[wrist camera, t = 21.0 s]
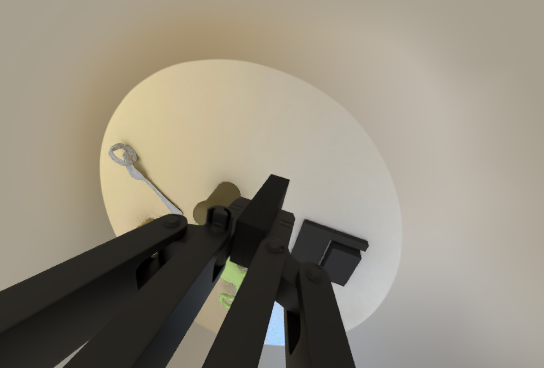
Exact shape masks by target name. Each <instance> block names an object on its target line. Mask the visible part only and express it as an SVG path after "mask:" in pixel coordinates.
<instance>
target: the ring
mask: <svg viewBox="0 0 544 368" xmlns="http://www.w3.org/2000/svg"><path fill="white" fill-rule="evenodd" d="M121 148H123V149H126V150H127V151H128V152H129V153H130V154H131V155H132V157H133V160H131V161H129V162H124V161H122V160H121V159H119V158H117V157H116V156H115V155H114V154H113V152H112V151H115V150H117V149H121ZM109 156H110V158H111V159H112V160H113V161H115V162H116V163H118V164H120V165H123V166H127V165H131V164H133V163H134V162H135V161H136V159H137V156H136V153H135V151H134V150H133V149H132V148H130V147H129V146H127V145H124V144H121V143H118V144H115V145H113V146H112V147H111V148H110V150H109ZM118 160H119V161H118ZM119 162H120V163H119Z"/></svg>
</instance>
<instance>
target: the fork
mask: <svg viewBox="0 0 544 368" xmlns="http://www.w3.org/2000/svg"><path fill="white" fill-rule="evenodd" d="M126 153H127V151H126V152H125V153H124V155H123V158H124V156H125V155H126ZM127 157H128V158H127ZM126 158H127V159H126ZM128 159H129V160H128ZM125 160H126V161H125ZM127 161H128V162H129V161H131V160H130V158H129V156H128V153H127V155H126V156H125V158H124V162H127ZM126 168H127V170H128V172H129V174H130V175H131V176H132V177H133V178H135V179H136V180H143V181H145V182H146V183H147V184H149V185H150V186H151V188H152V189H153V190H154V191H155V192H156V193H157V194H158V196H159V197H160V198H161V199H162V201H163V202H164V203H165V205H166V206H167V207H168V208H169V210H170V211H171V212H172V213H173V214H180V215H183V213H182V212H181V211H180V210H179V209H177V208H176V207H175V206H174V205H173V204H172V203H171V202H170V201H169V200H167V199H166V198H165V197H164V196H163V195H162V194H161V193H160V192H159V191H158V190H157V189H156V188H155V187H154V186H153V185H152V184H151V183H150V182H149V181H148V180H146V179H145V178H144V177H143V175H142V174H141V173H140V172H139V171H137V170H136V169H135V167H134V166H133V164H131V165H128V166H126Z"/></svg>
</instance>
